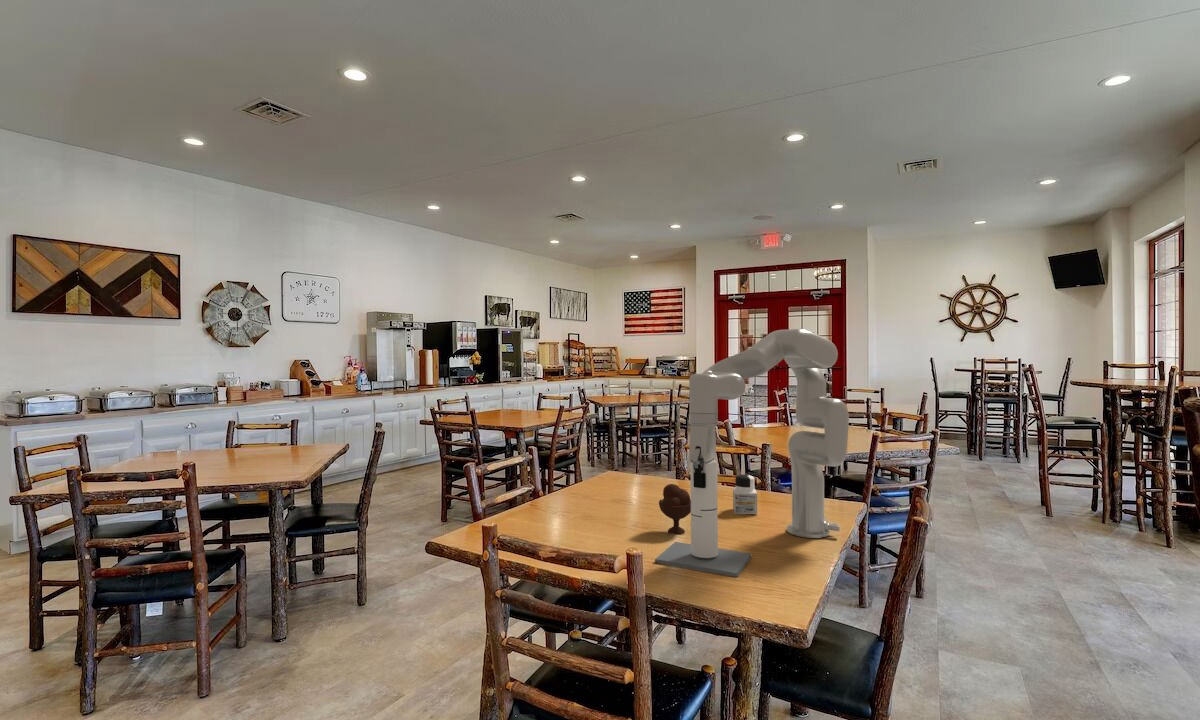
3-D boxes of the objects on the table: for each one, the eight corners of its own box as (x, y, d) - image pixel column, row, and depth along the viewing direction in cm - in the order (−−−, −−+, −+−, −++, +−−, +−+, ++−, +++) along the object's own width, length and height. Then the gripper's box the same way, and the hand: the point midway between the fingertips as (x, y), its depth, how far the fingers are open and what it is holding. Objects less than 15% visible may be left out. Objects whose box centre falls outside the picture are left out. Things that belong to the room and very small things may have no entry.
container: (734, 514, 197) (734, 477, 197) (733, 508, 205) (733, 472, 205) (757, 515, 196) (757, 478, 196) (755, 509, 203) (754, 473, 203)
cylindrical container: (717, 558, 149) (717, 464, 148) (690, 557, 150) (689, 463, 150) (717, 549, 156) (717, 459, 155) (691, 548, 157) (690, 458, 157)
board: (751, 557, 155) (751, 553, 155) (737, 577, 141) (737, 573, 141) (675, 545, 165) (675, 541, 165) (655, 562, 151) (655, 559, 151)
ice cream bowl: (670, 539, 170) (670, 489, 170) (652, 529, 180) (652, 482, 180) (700, 534, 174) (700, 486, 174) (681, 525, 185) (681, 479, 185)
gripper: (699, 415, 162) (700, 477, 162) (679, 422, 147) (680, 490, 147) (725, 416, 159) (726, 479, 159) (707, 423, 143) (708, 493, 143)
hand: (704, 484), depth 153 cm, fingers closed on cylindrical container, 7 cm apart
